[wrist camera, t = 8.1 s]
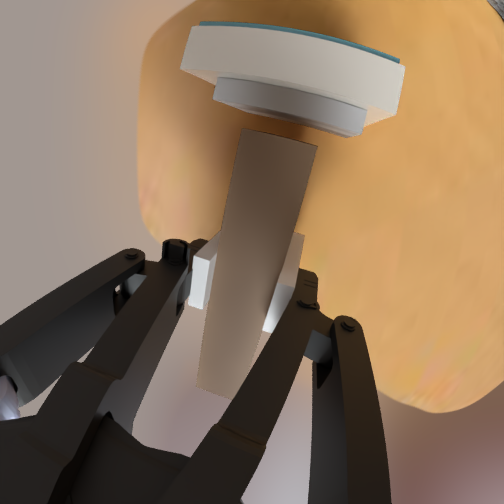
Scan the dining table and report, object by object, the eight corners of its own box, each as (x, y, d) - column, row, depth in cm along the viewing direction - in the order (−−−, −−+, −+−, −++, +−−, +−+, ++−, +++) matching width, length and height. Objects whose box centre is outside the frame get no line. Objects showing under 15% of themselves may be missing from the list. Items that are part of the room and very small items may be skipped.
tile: (366, 98, 14) (406, 60, 6) (358, 128, 15) (395, 115, 7) (249, 69, 15) (193, 20, 7) (242, 99, 16) (179, 68, 8)
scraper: (349, 122, 14) (367, 110, 8) (274, 351, 22) (258, 408, 16) (252, 98, 15) (217, 77, 9) (206, 328, 22) (176, 378, 17)
